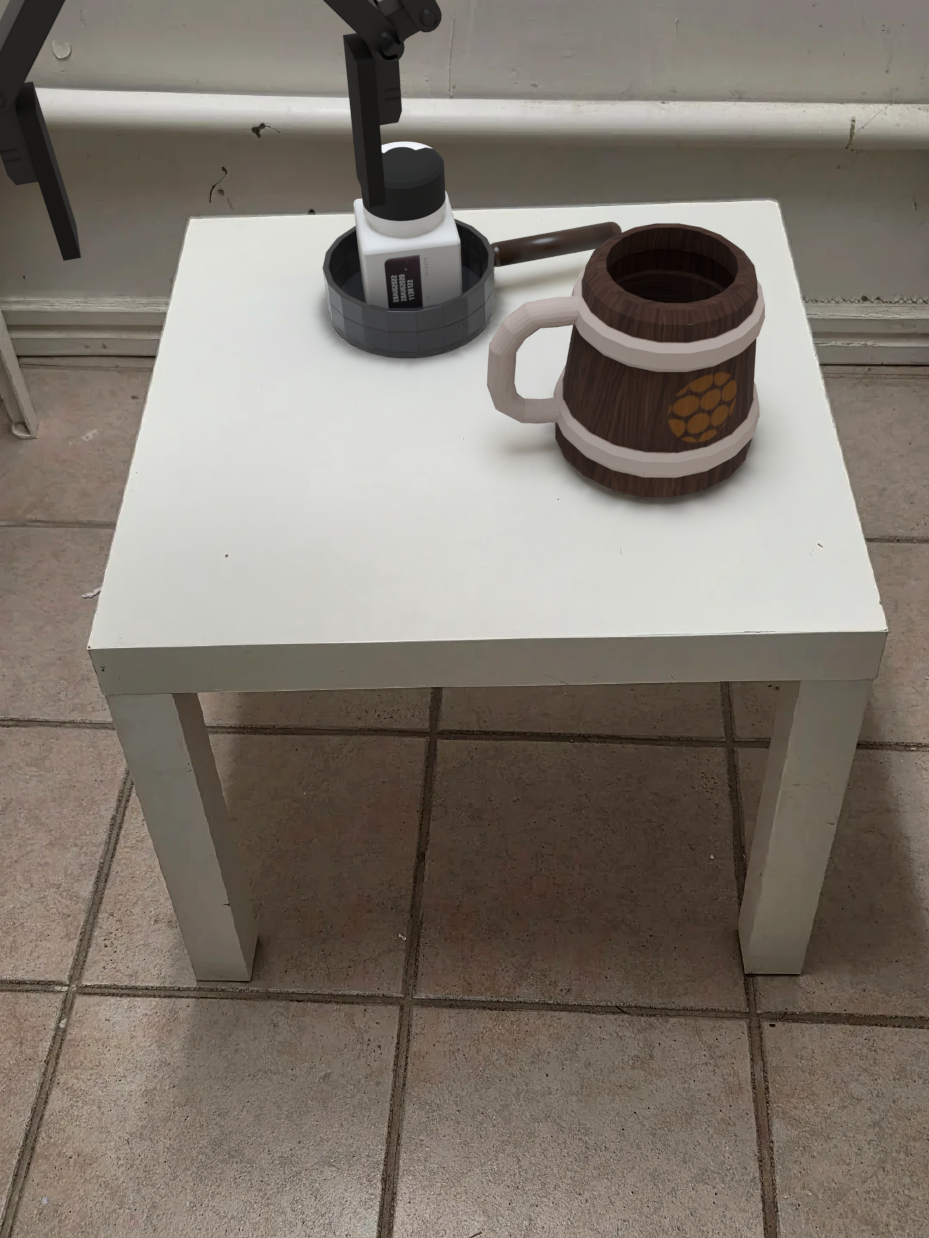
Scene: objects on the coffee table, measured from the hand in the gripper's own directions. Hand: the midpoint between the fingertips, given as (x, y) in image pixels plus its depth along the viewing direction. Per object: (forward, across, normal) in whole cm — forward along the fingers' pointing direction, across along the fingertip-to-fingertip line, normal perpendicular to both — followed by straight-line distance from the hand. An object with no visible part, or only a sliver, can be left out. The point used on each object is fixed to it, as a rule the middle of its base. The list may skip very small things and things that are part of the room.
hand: (224, 217), depth 53 cm
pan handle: (+29, -28, -34) cm, 52 cm away
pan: (+31, -16, -34) cm, 49 cm away
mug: (+31, -26, -13) cm, 43 cm away
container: (+31, -16, -34) cm, 48 cm away
